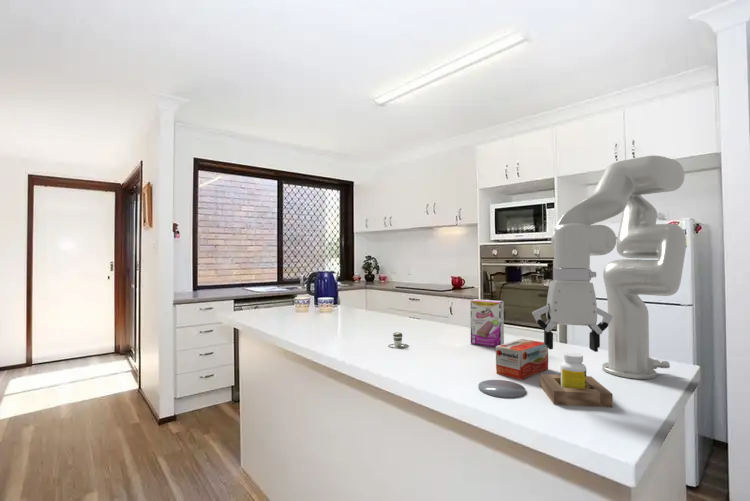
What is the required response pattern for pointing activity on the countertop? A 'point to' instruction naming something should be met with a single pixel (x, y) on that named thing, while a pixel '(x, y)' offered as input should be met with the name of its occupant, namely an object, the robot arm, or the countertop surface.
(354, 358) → the countertop surface
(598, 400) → the pocket holder
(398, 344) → the sink strainer
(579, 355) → the supplement bottle
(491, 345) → the candy bar box
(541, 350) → the medicine box
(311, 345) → the countertop surface
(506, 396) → the coaster
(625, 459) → the countertop surface
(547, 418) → the countertop surface
